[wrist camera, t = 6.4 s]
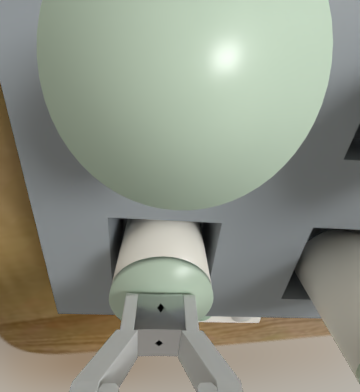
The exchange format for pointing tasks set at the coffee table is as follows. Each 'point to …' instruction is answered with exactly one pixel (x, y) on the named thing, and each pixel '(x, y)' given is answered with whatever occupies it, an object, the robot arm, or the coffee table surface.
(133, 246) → the button
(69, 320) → the coffee table surface
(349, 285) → the button
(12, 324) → the coffee table surface
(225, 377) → the robot arm
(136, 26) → the button
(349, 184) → the button board
